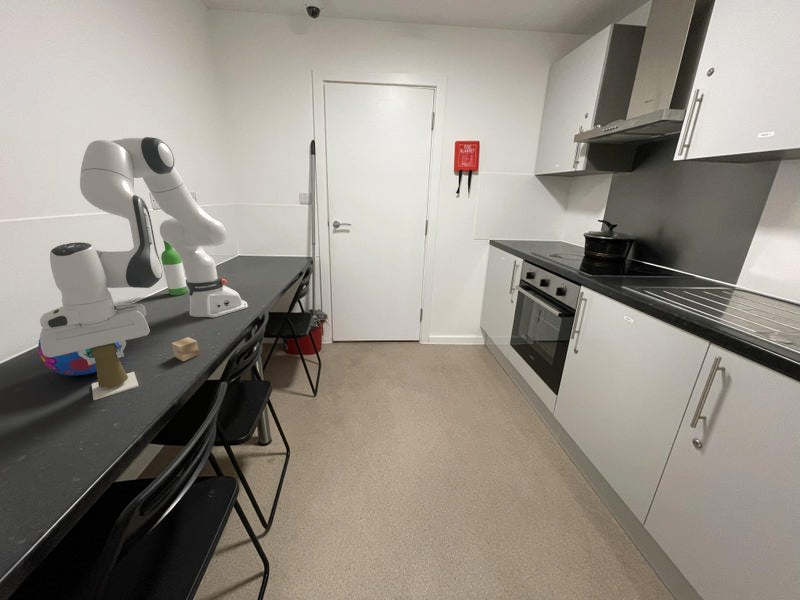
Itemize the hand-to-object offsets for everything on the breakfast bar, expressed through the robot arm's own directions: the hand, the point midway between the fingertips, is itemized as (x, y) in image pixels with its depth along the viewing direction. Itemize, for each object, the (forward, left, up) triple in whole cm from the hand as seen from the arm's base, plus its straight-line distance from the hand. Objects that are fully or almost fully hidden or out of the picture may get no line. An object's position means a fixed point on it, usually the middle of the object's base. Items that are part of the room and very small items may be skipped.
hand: (106, 359), depth 85 cm
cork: (0, 0, -6) cm, 7 cm away
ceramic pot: (+4, -15, -8) cm, 17 cm away
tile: (0, 0, -8) cm, 8 cm away
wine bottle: (-30, -80, -8) cm, 86 cm away
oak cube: (-18, -6, -8) cm, 21 cm away
